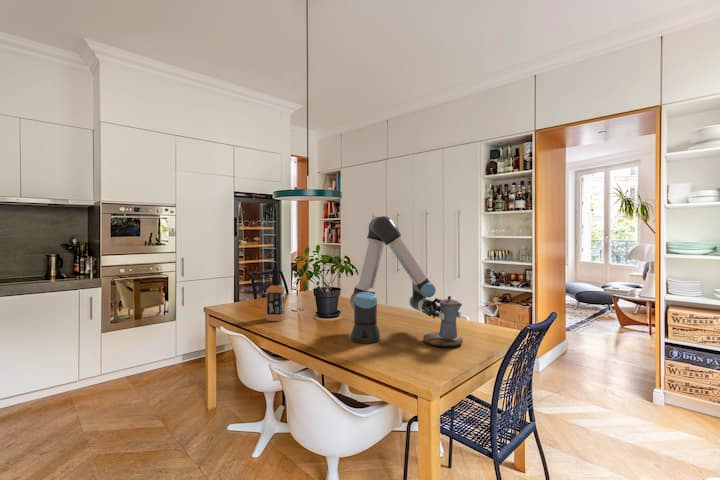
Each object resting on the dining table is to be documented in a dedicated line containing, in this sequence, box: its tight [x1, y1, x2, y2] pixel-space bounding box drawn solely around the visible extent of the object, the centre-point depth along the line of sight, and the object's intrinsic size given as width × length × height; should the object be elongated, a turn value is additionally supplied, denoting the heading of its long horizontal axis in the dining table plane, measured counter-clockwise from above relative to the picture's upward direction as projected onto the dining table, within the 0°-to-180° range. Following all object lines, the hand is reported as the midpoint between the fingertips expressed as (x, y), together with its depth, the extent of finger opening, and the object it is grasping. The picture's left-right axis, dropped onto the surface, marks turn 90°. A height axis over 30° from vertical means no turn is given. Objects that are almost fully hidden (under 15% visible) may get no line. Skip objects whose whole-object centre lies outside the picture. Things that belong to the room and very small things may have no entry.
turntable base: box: [430, 344, 457, 348], centre depth 187 cm, size 14×14×1 cm
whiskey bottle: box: [265, 268, 286, 322], centre depth 235 cm, size 10×10×32 cm
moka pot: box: [432, 295, 463, 339], centre depth 182 cm, size 10×15×20 cm, turn 58°
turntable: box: [423, 331, 463, 347], centre depth 187 cm, size 19×19×1 cm
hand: (451, 315), depth 179 cm, fingers closed on moka pot, 8 cm apart
